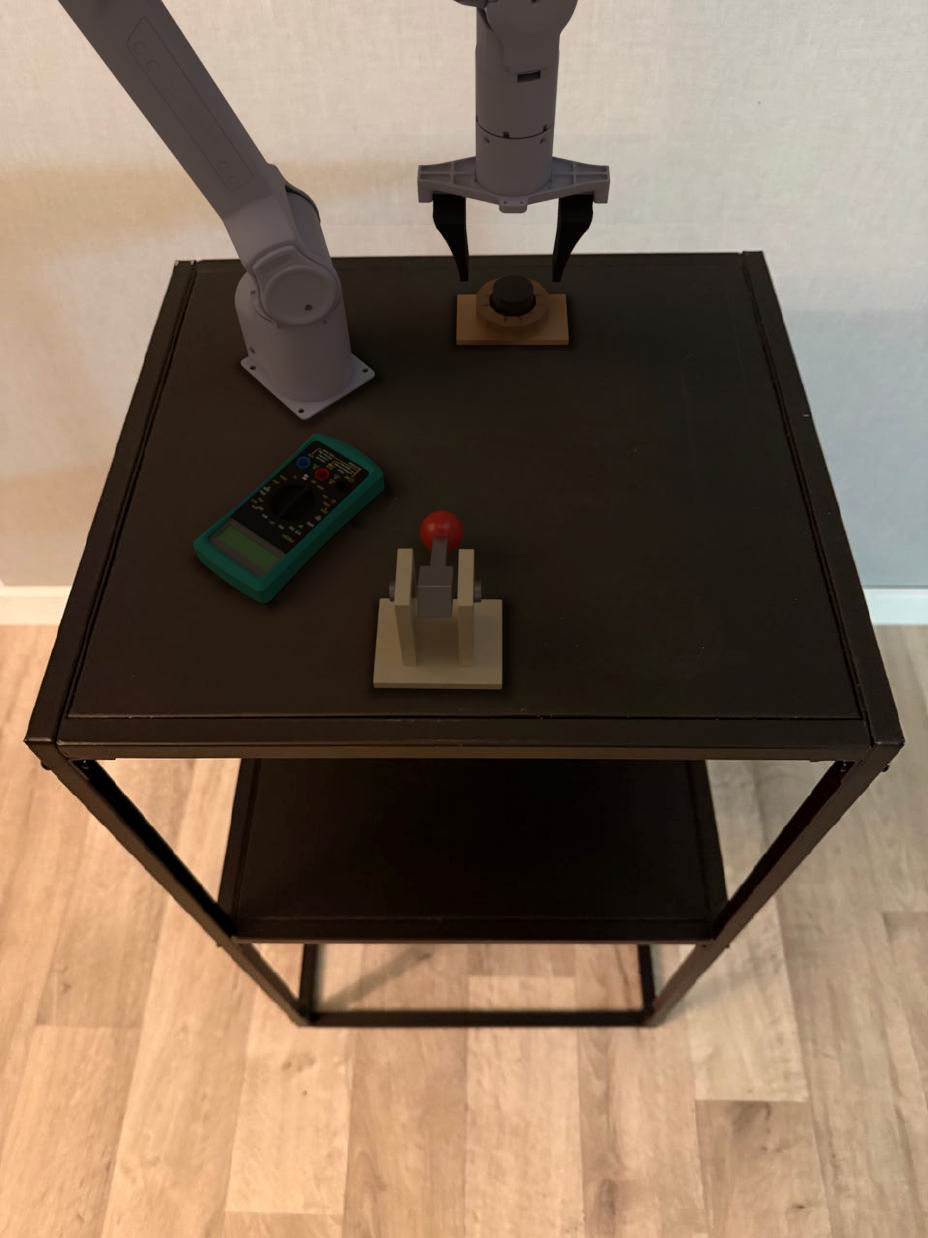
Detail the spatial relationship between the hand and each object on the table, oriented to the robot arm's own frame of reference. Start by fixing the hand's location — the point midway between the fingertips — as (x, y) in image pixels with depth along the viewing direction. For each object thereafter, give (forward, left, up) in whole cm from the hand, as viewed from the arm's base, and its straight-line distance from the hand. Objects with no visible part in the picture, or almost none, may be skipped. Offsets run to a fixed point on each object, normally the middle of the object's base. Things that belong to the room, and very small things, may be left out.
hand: (510, 273), depth 79 cm
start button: (-1, +2, -5) cm, 5 cm away
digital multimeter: (+4, -27, -7) cm, 28 cm away
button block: (-1, +2, -7) cm, 7 cm away
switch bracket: (+20, -26, -7) cm, 33 cm away
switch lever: (+17, -24, -3) cm, 30 cm away
